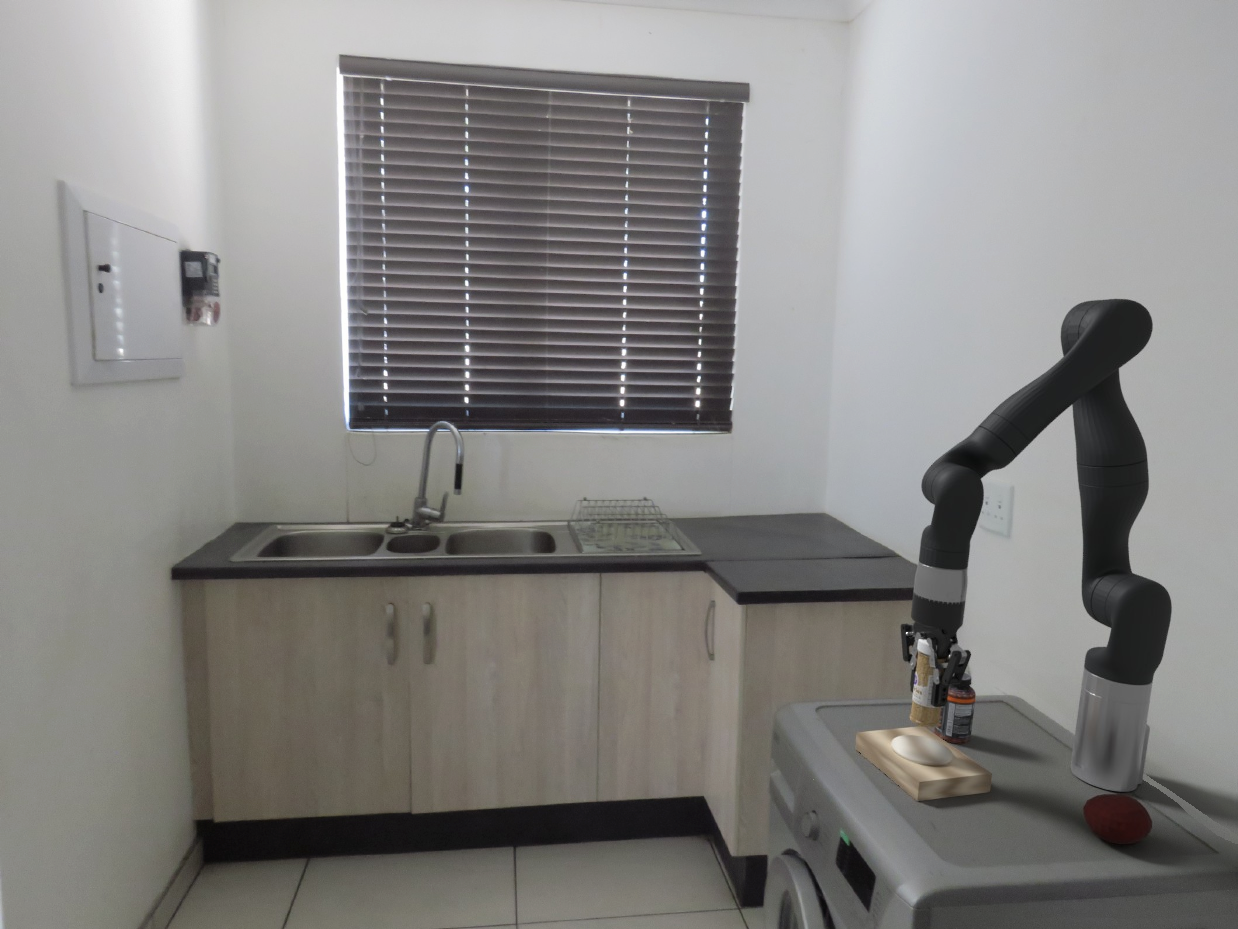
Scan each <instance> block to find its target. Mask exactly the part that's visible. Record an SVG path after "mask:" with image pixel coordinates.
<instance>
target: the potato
mask: <svg viewBox="0 0 1238 929" xmlns="http://www.w3.org/2000/svg"><path fill="white" fill-rule="evenodd" d="M1082 808H1083V809H1082V812H1083V817H1084V820H1085V822H1086V825H1087V826H1088V828H1089V829H1090V830H1091V832H1092V833H1093V834H1094V835H1095V836H1097V837H1099V838H1100V839H1102V840H1104V841H1106V842H1109V843H1112V844H1116V845H1129V844H1135V843H1137V842H1139V841H1141V840H1143V839H1145V838H1146V837H1148V836H1149V834H1150V832H1151V831H1152V829H1153V821H1152V818H1151V816H1150V812H1149V811H1148V810H1147V808H1145V806H1144V805H1143V804H1142V803H1141V802H1140V801H1138V799H1137V798H1133V797H1131V796H1129V795H1127V794H1126V795H1125V794H1122V793H1106V794H1105V793H1104V794H1099V795H1095V796H1093V797H1091V798H1089V799H1087V800H1086V802H1085V803H1084V806H1083V807H1082Z"/></svg>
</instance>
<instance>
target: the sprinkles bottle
mask: <svg viewBox="0 0 1238 929" xmlns="http://www.w3.org/2000/svg"><path fill="white" fill-rule="evenodd" d="M917 649H918V659H917V668H916V672H915V681H914V689H913V693H912V701H911V710H910V714H909V719H910V721H911V722H912V723H913V724H914V725H917V726H918V727H919V726H922V727H925V728H934V727H938V726H939V725H940V720H939V719H940V711H941V707H934V706H932V705H931V697H932V688H933V683H934V676H933V668H931V667H930V661H929V656H931V655H932V653H931V649H930V648H929V644H928V643H927V639H919V640H918V646H917ZM936 649H937V645H936ZM946 659H947V658H946ZM946 659H937V661H938V662H939V663H944V662H946ZM943 675H944V668H941V676H943Z"/></svg>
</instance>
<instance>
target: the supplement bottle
mask: <svg viewBox="0 0 1238 929" xmlns="http://www.w3.org/2000/svg"><path fill="white" fill-rule="evenodd" d="M954 674H955V673H954ZM954 674H953V676H954ZM971 685H972V676H971V675H970V674H969V673H966V672H965V673H964V675H963V678H962V680H961V683H960V684H950V685H949V690H948V699H947V703H946V704H945V706H944V707H941V711H940V719H939V720H940V725H939V726H938V727H933V728H934V729H933V731H934V732H933V733H934V734H936V735H937V736H939V737H940V738H941V739H944V741H945V740H947V741H946V742H950V743H952V742H953V744H966V743H968V742H970V741H971V737H972V732H973V730H972V729H973V728H972V727H973V720H974V715H975V714H974V712H975V704H976V697H977V696H976V690H975V689H974V688H973V687H972V686H971Z"/></svg>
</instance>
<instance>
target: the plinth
mask: <svg viewBox="0 0 1238 929" xmlns="http://www.w3.org/2000/svg"><path fill="white" fill-rule="evenodd" d="M855 749H856V750H858V751H859V752H860V753H861V754H862V755H863V756H864V757H865V758H864V757H863V756H862V755H861V754H860V753H859V754H860V755H861V756H862V757H863V758H864V759H866V758H867V759H868V760H869V761H870V762H871V763H870V762H869V761H868V760H867V759H866V760H867V761H868V762H869V763H870V764H872V763H873V764H874V765H875V766H876V767H878V768H879V769H880V770H881V771H882V772H881V771H880V770H879V769H878V768H877V769H878V770H879V771H880V772H881V773H883V772H884V773H885V774H886V775H887V776H888V777H887V776H886V775H885V774H884V773H883V774H884V775H885V776H886V777H887V778H889V777H890V778H891V779H890V778H889V779H890V780H891V781H892V780H893V781H894V782H893V781H892V782H893V783H895V785H897V786H898V785H899V786H900V787H899V786H898V787H899V788H900V789H902V790H903V791H904V792H906V793H907V795H909V796H910V797H911V798H912V799H914V800H915V801H916V802H921V801H930V800H936V799H937V800H938V799H945V798H954V797H961V796H968V795H969V796H970V795H977V794H985V793H990V792H991V786H992V779H993V778H992V777H993V773H992V771H990V770H988V769H986V767H984V766H982V765H980V764H979V763H978V762H976V761H975V760H974V759H972V758H971V757H970V756H968V755H966V754H965V753H963V752H962V751H961V750H959V749H958V748H956V747H954V746H953V745H952V744H950V743H948V741H945V740H943V739H941V738H940V737H939V736H937V735H936V734H935V732H933V731H931V730H930V729H928V727H922V726H919V725H918V726H910V727H900V728H899V727H898V728H890V729H889V728H887V729H879V730H868V731H867V730H866V731H857V732H856V736H855V748H854V750H855ZM856 750H855V751H856ZM873 764H872V765H873ZM874 765H873V766H874ZM875 766H874V767H875ZM876 767H875V768H876Z"/></svg>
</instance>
